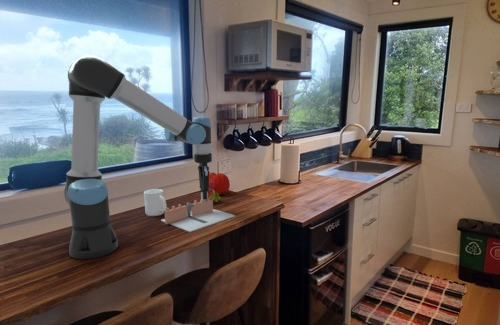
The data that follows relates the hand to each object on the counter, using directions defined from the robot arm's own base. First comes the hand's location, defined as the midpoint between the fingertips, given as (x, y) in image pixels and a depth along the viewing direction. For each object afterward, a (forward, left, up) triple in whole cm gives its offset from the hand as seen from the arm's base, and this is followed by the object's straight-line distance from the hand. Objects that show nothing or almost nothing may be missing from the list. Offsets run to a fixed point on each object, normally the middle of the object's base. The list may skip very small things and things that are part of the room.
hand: (204, 205), depth 154 cm
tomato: (+24, +20, -4) cm, 32 cm away
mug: (-15, +15, -4) cm, 21 cm away
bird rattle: (+12, +10, -4) cm, 16 cm away
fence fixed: (-14, 0, -3) cm, 14 cm away
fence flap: (-3, -1, -3) cm, 4 cm away
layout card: (-7, -4, -3) cm, 8 cm away
